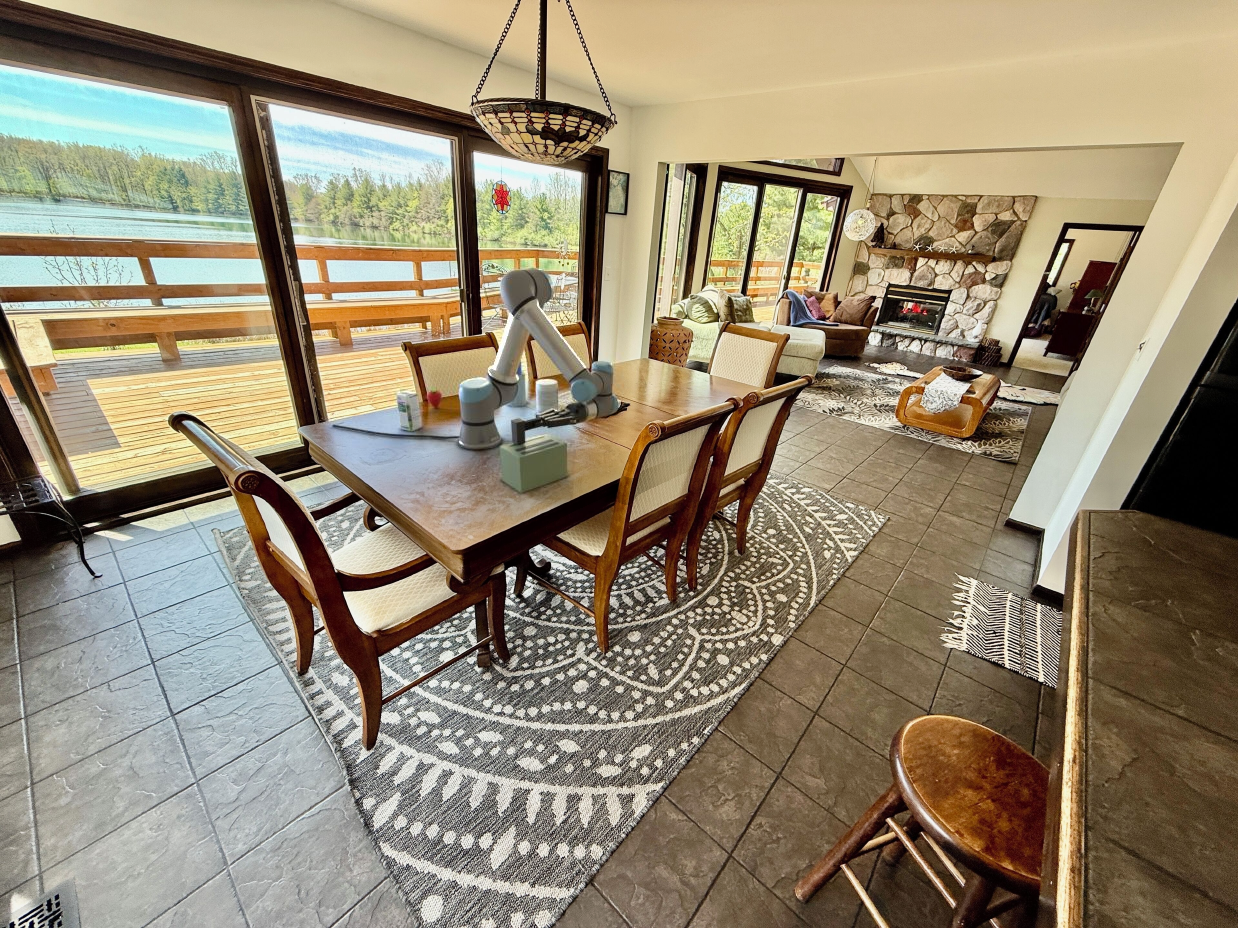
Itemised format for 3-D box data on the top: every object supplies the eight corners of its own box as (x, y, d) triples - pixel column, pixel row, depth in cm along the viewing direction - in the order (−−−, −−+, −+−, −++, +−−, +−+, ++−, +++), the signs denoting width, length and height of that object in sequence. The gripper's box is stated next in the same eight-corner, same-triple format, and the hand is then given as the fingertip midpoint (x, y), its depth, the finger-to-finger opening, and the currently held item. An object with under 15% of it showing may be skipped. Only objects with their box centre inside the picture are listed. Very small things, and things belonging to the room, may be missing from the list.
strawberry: (425, 410, 209) (422, 388, 205) (432, 405, 216) (430, 383, 212) (438, 411, 209) (435, 389, 205) (445, 406, 216) (443, 384, 212)
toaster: (521, 493, 147) (519, 457, 142) (501, 480, 154) (499, 445, 149) (567, 476, 159) (567, 442, 154) (547, 465, 166) (546, 432, 161)
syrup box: (400, 429, 189) (394, 393, 183) (411, 424, 194) (406, 389, 188) (411, 431, 187) (406, 396, 181) (422, 427, 192) (417, 392, 186)
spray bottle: (530, 403, 225) (528, 349, 214) (516, 407, 218) (514, 352, 207) (515, 399, 229) (513, 346, 218) (502, 403, 222) (499, 349, 212)
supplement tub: (562, 415, 211) (562, 383, 205) (542, 419, 206) (541, 386, 200) (552, 409, 219) (551, 377, 212) (533, 412, 214) (532, 380, 207)
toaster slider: (517, 445, 150) (516, 422, 146) (512, 442, 151) (510, 420, 148) (525, 443, 151) (524, 420, 148) (520, 440, 153) (519, 418, 150)
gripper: (592, 427, 163) (535, 443, 148) (568, 416, 171) (512, 431, 156) (593, 406, 160) (534, 421, 145) (568, 396, 168) (510, 409, 153)
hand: (523, 426), depth 150 cm, fingers closed
